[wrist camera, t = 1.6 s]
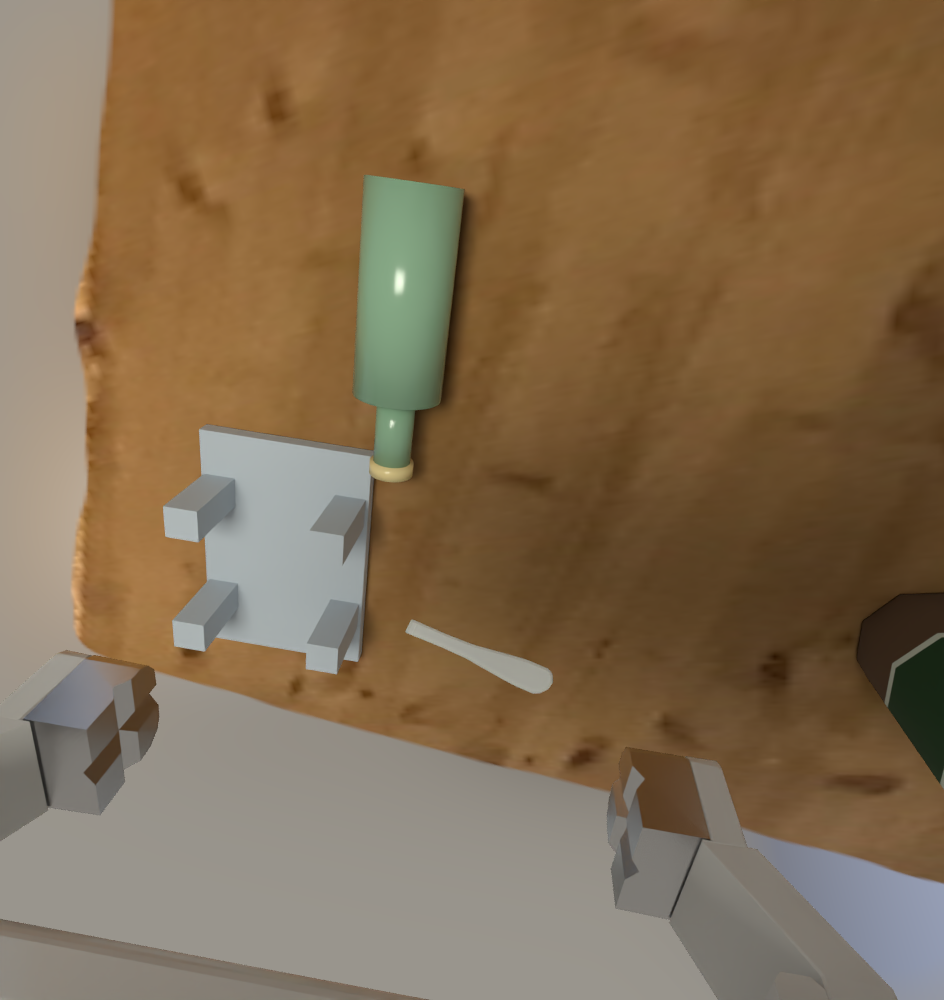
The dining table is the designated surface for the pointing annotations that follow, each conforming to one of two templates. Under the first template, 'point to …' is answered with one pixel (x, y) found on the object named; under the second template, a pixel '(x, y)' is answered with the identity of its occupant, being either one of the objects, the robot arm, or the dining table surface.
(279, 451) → the rest
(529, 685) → the butter knife
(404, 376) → the bottle
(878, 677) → the beer bottle
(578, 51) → the dining table surface
